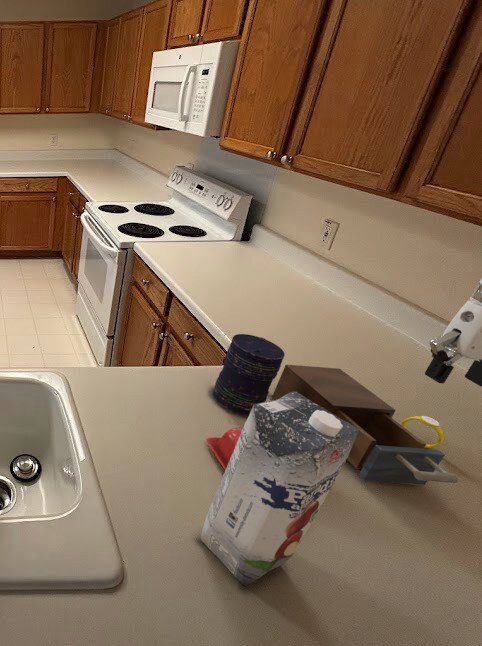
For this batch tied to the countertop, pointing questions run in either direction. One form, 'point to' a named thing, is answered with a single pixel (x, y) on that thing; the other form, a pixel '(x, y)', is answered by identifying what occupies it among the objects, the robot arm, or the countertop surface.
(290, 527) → the juice carton
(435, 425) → the watch
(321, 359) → the countertop surface
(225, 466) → the butter dish
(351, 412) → the drawer
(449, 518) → the countertop surface
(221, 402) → the storage jar
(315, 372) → the cabinet
